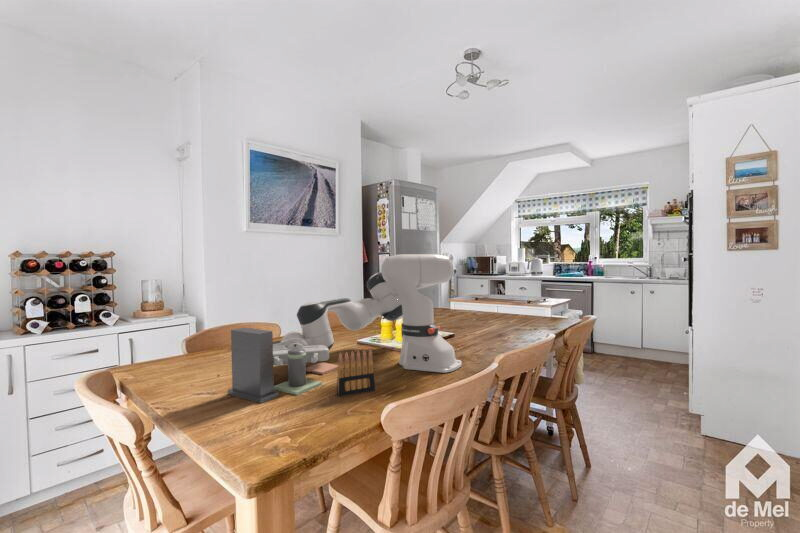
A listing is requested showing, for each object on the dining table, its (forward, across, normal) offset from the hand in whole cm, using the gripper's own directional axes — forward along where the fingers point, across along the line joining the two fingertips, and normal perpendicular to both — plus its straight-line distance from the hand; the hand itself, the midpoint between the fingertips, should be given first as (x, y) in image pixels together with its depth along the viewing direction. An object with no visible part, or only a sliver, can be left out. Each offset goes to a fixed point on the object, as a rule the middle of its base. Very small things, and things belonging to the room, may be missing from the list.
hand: (297, 361), depth 114 cm
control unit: (+2, +12, -8) cm, 15 cm away
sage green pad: (-1, 0, -8) cm, 8 cm away
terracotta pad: (-16, -9, -8) cm, 20 cm away
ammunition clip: (+9, -16, -8) cm, 20 cm away
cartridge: (-1, 0, -7) cm, 7 cm away
